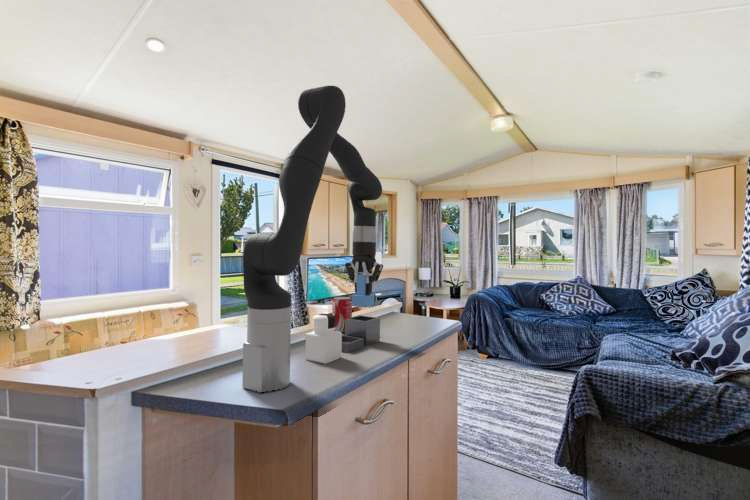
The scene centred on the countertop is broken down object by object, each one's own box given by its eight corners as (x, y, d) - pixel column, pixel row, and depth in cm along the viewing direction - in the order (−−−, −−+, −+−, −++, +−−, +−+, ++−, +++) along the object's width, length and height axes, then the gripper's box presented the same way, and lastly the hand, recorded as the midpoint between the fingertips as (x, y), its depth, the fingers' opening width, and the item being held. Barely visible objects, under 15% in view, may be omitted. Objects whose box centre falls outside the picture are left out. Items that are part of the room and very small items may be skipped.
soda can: (329, 329, 141) (329, 296, 141) (347, 328, 144) (347, 296, 144) (335, 333, 135) (336, 299, 134) (354, 332, 138) (355, 298, 137)
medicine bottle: (321, 353, 110) (322, 311, 110) (341, 357, 106) (342, 314, 106) (304, 359, 104) (305, 315, 104) (325, 364, 100) (326, 318, 100)
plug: (365, 307, 120) (365, 275, 120) (351, 305, 123) (351, 274, 123) (374, 305, 125) (374, 274, 124) (360, 303, 127) (361, 273, 127)
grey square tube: (365, 346, 119) (366, 321, 118) (345, 342, 123) (345, 318, 123) (379, 341, 125) (380, 318, 125) (359, 337, 130) (359, 315, 129)
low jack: (348, 352, 111) (348, 344, 111) (326, 348, 115) (326, 340, 115) (364, 346, 118) (364, 338, 118) (343, 342, 122) (343, 335, 122)
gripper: (339, 240, 124) (338, 293, 125) (376, 240, 117) (375, 297, 117) (353, 240, 131) (352, 291, 131) (389, 241, 123) (388, 295, 123)
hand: (363, 294), depth 124 cm, fingers closed on plug, 3 cm apart
